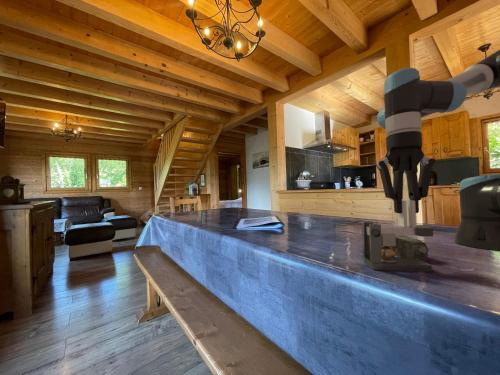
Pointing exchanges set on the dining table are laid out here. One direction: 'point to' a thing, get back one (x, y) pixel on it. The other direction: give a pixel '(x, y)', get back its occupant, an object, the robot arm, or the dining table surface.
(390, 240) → the lever
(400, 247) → the stone
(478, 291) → the dining table surface
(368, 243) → the cracker base
